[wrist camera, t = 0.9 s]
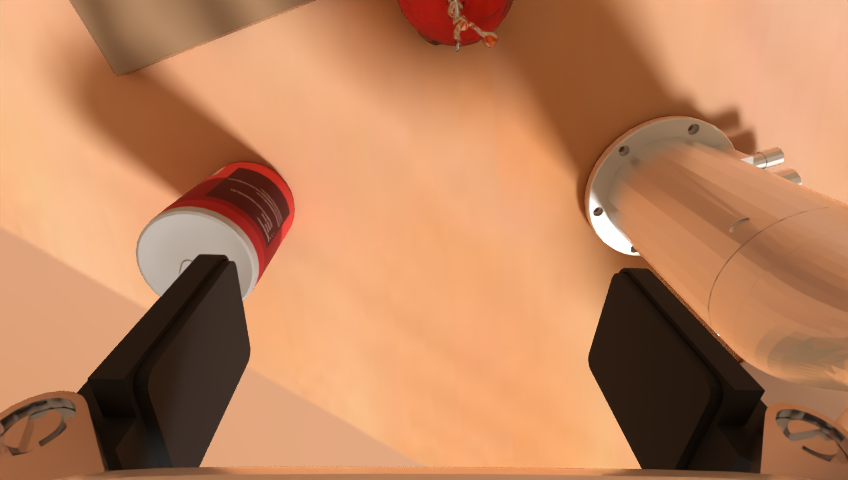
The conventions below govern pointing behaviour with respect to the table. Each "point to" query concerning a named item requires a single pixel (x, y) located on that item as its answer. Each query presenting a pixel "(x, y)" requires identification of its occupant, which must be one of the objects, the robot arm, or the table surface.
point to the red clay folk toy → (456, 20)
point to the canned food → (219, 226)
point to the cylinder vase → (799, 394)
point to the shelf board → (167, 25)
